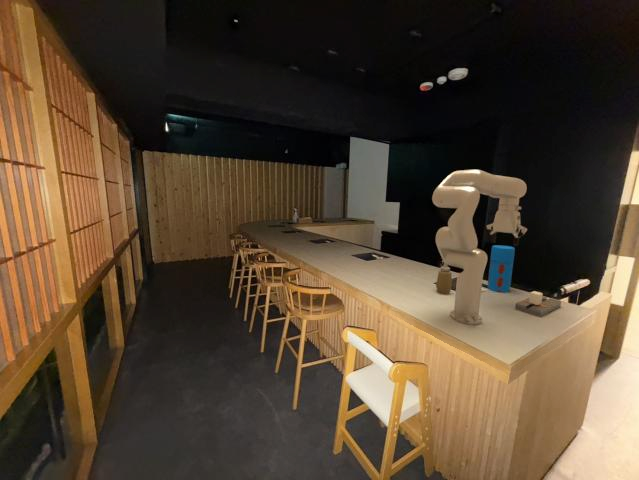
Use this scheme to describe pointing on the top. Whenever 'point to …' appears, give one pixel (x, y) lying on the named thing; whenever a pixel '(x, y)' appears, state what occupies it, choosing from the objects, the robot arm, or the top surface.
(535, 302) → the fader
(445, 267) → the squeeze bottle
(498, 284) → the thermos
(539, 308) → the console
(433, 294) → the top surface
